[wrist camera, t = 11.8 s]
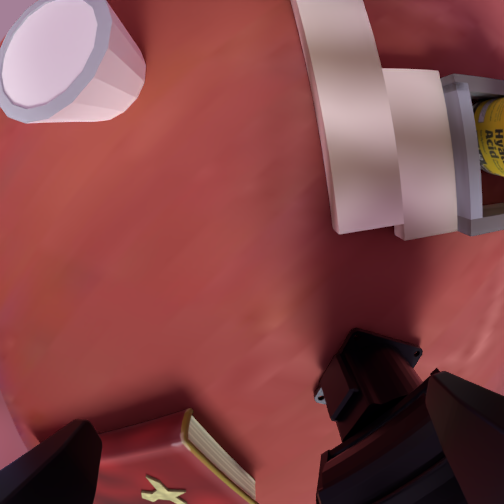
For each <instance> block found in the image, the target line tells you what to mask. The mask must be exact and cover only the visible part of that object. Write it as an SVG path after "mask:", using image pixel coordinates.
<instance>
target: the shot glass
mask: <svg viewBox="0 0 504 504" xmlns="http://www.w3.org/2000/svg"><path fill="white" fill-rule="evenodd" d="M145 73H146V64H145V61H144V58H143V55H142V53H141V51H140V49H139V48H138V46H137V45H136V43H135V42H134V40H133V39H132V37H131V36H130V34H129V33H128V31H127V30H126V28H125V27H124V25H123V24H122V23H121V21H120V20H119V18H118V17H117V15H116V14H115V12H114V11H113V9H112V8H111V6H110V5H109V3H108V2H107V1H106V0H38V1H37V2H35V3H34V4H33V5H31V6H30V7H29V8H27V9H26V10H25V11H24V12H23V14H22V15H21V16H20V17H19V18H18V20H17V21H16V22H15V23H14V25H13V26H12V27H11V28H10V30H9V31H8V33H7V35H6V37H5V39H4V41H3V43H2V46H1V48H0V107H1V108H2V110H3V111H4V112H5V114H6V115H7V116H8V117H9V118H12V119H15V120H18V121H21V122H23V123H44V122H96V121H105V120H110V119H112V118H114V117H116V116H118V115H119V114H121V113H123V112H125V111H126V110H127V109H128V108H129V106H130V105H131V104H132V103H133V102H134V101H135V100H136V99H137V98H138V95H139V93H140V91H141V89H142V87H143V85H144V83H145Z"/></svg>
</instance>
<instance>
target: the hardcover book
mask: <svg viewBox="0 0 504 504" xmlns="http://www.w3.org/2000/svg"><path fill="white" fill-rule="evenodd" d="M192 414H193V410H192V409H191V408H189V409H186V410H183V411H180V412H177V413H173V414H170V415H167V416H164V417H160V418H157V419H154V420H150V421H147V422H143V423H140V424H136V425H132V426H128V427H125V428H121V429H117V430H113V431H109V432H105V433H100V434H98V435H99V437H100V438H101V440H102V454H101V460H100V467H99V474H98V482H97V488H96V494H95V498H94V502H93V504H259V503H257V502H256V501H255V480H254V479H253V478H252V477H251V476H250V475H249V474H248V473H247V472H246V471H245V470H244V469H243V468H242V467H241V466H240V465H238V464H237V463H236V462H235V461H234V460H233V459H232V458H231V457H230V456H229V455H228V453H227V452H226V451H225V450H224V449H223V448H222V447H221V446H220V445H219V444H218V443H217V442H216V441H215V440H214V439H213V438H212V437H211V436H210V435H209V434H208V432H207V431H206V430H205V429H204V428H203V427H202V426H201V425H200V424H199V423H198V421H197V420H196V419H195V418H194V417H193V416H192Z"/></svg>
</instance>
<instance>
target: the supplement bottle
mask: <svg viewBox="0 0 504 504" xmlns="http://www.w3.org/2000/svg"><path fill="white" fill-rule="evenodd" d="M472 107H473V113H474V119H475V126H476V133H477V140H478V149H479V158H480V168H481V169H482V170H483V171H485V172H487V173H489V174H493V175H499V176H504V97H501V98H494V99H487V100H482V101H479V102H477V103H476V104H474V105H473V106H472Z"/></svg>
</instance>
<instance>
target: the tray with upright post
mask: <svg viewBox="0 0 504 504" xmlns="http://www.w3.org/2000/svg"><path fill="white" fill-rule="evenodd" d="M290 1H291V5H292V8H293V12H294V16H295V20H296V24H297V28H298V32H299V36H300V41H301V45H302V49H303V54H304V58H305V63H306V67H307V72H308V77H309V81H310V86H311V91H312V96H313V102H314V107H315V112H316V118H317V123H318V129H319V135H320V141H321V147H322V153H323V160H324V166H325V173H326V180H327V187H328V194H329V202H330V210H331V218H332V227H333V230H335V231H336V232H337V233H338V234H345V233H352V232H358V231H364V230H370V229H376V228H382V227H388V226H394V233H395V235H396V236H397V237H399V238H401V239H403V240H405V241H406V240H411V239H417V238H422V237H428V236H433V235H439V234H444V233H449V232H455V231H459V232H461V233H464V234H466V235H469V236H475V235H480V234H485V233H490V232H495V231H499V230H504V203H497V204H490V205H483V206H482V184H481V170H480V158H479V149H478V140H477V133H476V126H475V119H474V113H473V107H472V102H471V99H474V100H487V99H494V98H501V97H504V80H498V79H492V78H485V77H478V76H470V75H462V74H451V75H448V76H445V77H442V78H440V75H439V71H436V70H421V69H396V68H382V67H381V63H380V59H379V55H378V51H377V47H376V43H375V40H374V36H373V32H372V29H371V25H370V22H369V19H368V15H367V12H366V9H365V6H364V3H363V0H290Z"/></svg>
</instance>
